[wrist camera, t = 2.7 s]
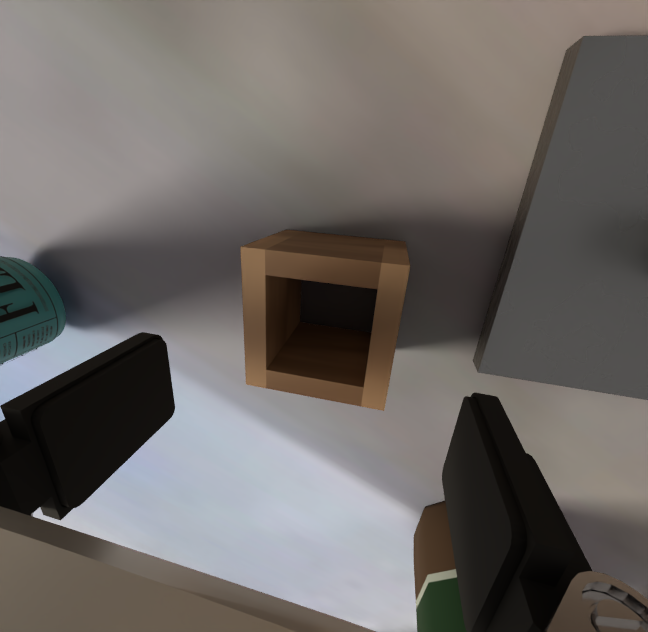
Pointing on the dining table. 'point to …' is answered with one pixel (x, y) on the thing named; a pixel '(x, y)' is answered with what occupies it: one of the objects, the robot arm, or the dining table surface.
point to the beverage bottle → (27, 309)
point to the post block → (581, 234)
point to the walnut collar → (318, 340)
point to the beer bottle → (436, 574)
